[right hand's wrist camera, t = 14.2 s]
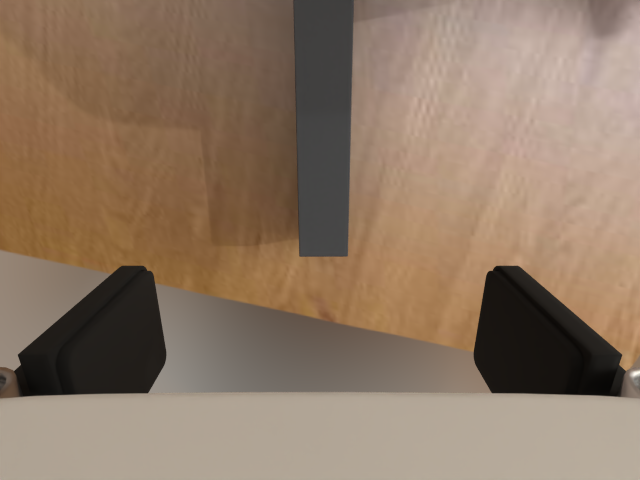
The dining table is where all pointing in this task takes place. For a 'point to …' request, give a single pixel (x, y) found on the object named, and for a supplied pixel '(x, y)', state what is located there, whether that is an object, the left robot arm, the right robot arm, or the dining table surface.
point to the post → (323, 123)
